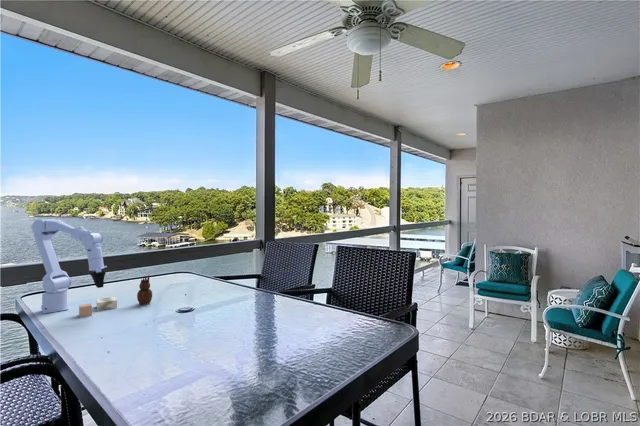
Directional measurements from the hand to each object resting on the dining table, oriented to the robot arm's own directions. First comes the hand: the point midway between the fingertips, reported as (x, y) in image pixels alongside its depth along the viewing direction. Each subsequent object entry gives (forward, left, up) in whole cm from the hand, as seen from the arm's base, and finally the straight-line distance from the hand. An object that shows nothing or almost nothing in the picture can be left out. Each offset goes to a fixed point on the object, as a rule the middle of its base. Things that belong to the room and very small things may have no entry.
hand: (99, 287), depth 152 cm
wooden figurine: (+20, +3, -12) cm, 23 cm away
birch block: (+4, +8, -12) cm, 15 cm away
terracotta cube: (-5, 0, -12) cm, 13 cm away
